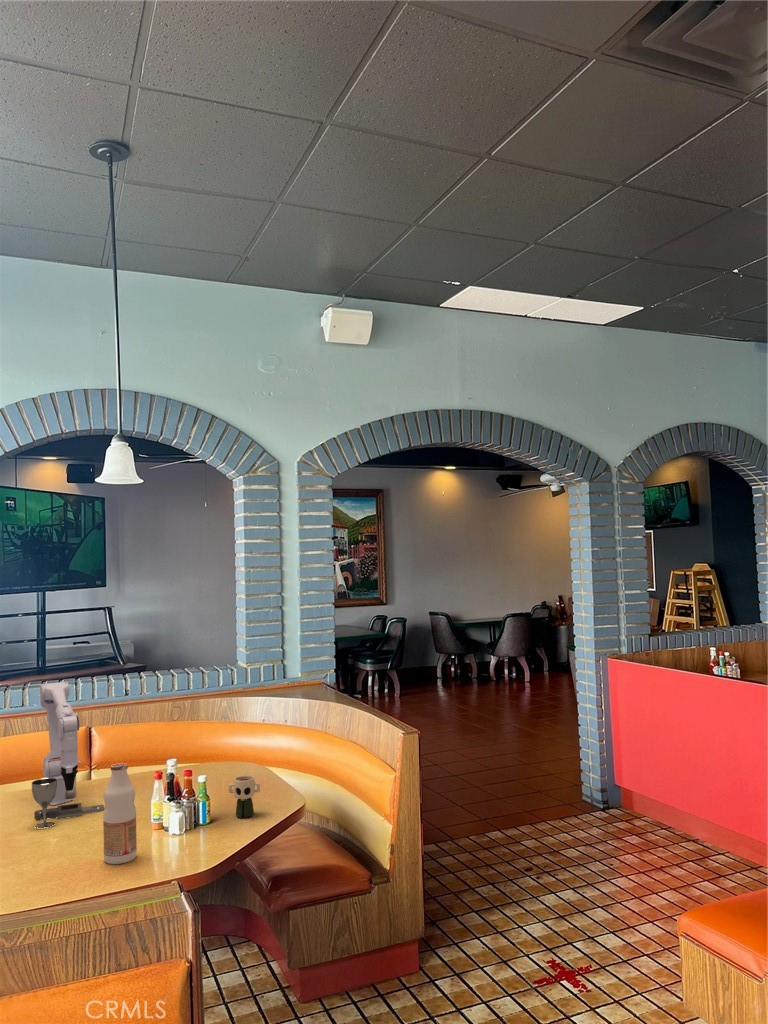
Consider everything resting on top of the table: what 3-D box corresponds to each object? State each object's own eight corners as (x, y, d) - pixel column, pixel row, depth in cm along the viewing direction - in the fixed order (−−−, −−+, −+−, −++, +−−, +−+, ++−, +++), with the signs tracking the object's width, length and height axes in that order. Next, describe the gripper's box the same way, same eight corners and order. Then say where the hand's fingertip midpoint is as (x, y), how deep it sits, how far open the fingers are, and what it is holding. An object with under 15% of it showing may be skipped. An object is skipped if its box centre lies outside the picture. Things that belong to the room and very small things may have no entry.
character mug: (227, 819, 265) (226, 781, 266) (231, 813, 272) (230, 775, 273) (258, 819, 265) (258, 780, 266) (262, 812, 272) (261, 774, 273)
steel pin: (62, 797, 277) (62, 772, 277) (72, 794, 280) (72, 769, 280) (68, 799, 274) (68, 774, 275) (78, 796, 277) (78, 771, 278)
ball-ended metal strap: (33, 822, 268) (33, 815, 269) (34, 815, 276) (34, 809, 276) (104, 812, 277) (104, 805, 277) (103, 806, 285) (103, 799, 285)
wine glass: (62, 823, 267) (62, 779, 268) (43, 830, 260) (43, 785, 261) (45, 820, 271) (45, 776, 271) (26, 828, 263) (26, 783, 264)
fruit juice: (107, 867, 227) (106, 770, 229) (100, 857, 235) (99, 764, 237) (140, 860, 232) (139, 765, 234) (132, 850, 240) (131, 758, 242)
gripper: (81, 753, 272) (81, 792, 272) (80, 744, 286) (81, 781, 285) (59, 755, 270) (60, 795, 269) (60, 746, 283) (60, 784, 283)
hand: (69, 788), depth 277 cm, fingers closed on steel pin, 4 cm apart
